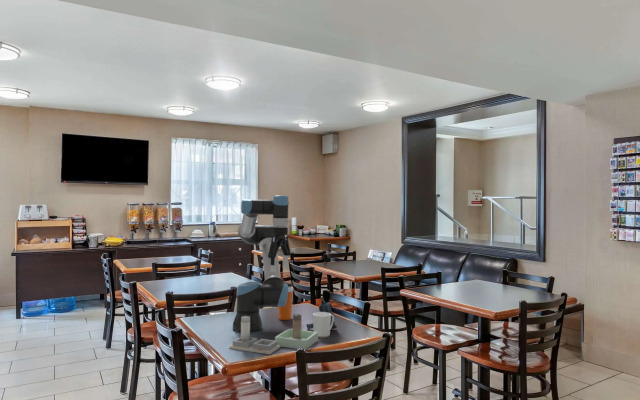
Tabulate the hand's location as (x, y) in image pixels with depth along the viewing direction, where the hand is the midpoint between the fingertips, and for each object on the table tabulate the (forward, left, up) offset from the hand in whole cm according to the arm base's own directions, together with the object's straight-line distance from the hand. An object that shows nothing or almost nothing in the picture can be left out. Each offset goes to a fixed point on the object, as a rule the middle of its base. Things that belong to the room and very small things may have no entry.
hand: (279, 270), depth 207 cm
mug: (+20, +10, -32) cm, 39 cm away
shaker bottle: (-11, +31, -32) cm, 46 cm away
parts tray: (+13, -7, -32) cm, 35 cm away
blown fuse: (+13, -7, -31) cm, 34 cm away
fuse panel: (-1, -21, -32) cm, 38 cm away
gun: (+16, +18, -32) cm, 40 cm away
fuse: (-6, -21, -31) cm, 38 cm away
